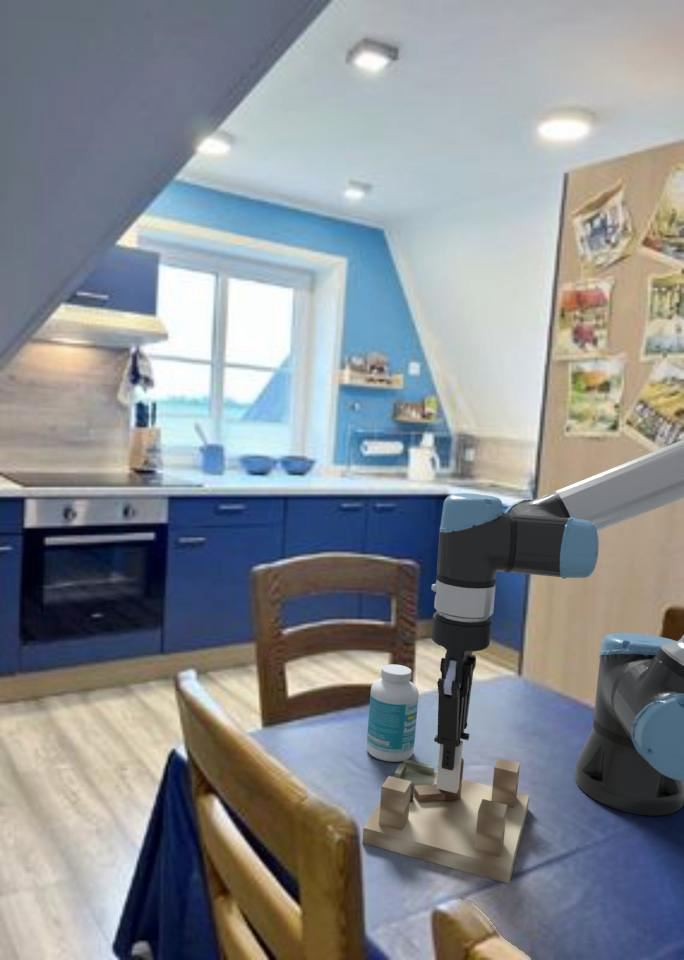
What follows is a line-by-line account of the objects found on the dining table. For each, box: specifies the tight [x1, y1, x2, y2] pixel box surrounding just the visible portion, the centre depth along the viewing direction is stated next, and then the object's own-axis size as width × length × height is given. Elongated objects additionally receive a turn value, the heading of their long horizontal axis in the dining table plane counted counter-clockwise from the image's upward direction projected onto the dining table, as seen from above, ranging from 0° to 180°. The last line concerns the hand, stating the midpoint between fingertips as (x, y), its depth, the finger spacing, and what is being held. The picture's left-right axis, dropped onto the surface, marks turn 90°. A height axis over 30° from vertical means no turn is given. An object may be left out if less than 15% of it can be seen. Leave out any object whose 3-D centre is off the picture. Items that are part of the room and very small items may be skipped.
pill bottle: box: [366, 663, 420, 763], centre depth 118 cm, size 8×7×14 cm
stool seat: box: [361, 757, 530, 885], centre depth 99 cm, size 18×18×7 cm
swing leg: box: [414, 757, 465, 801], centre depth 102 cm, size 6×3×5 cm, turn 104°
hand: (447, 788), depth 100 cm, fingers closed
